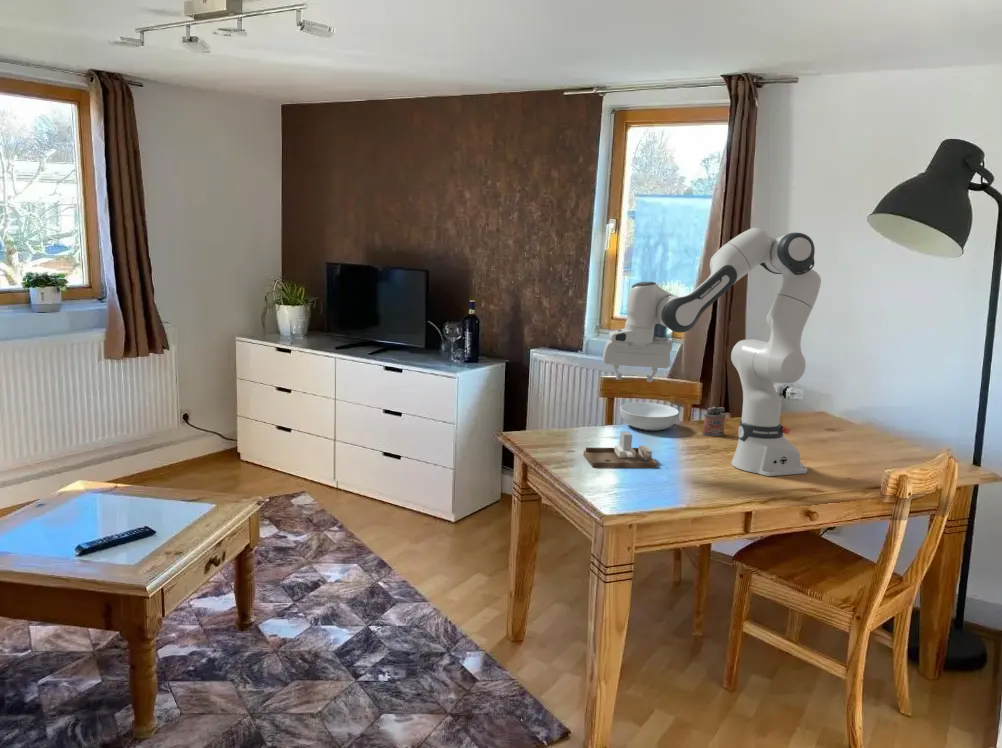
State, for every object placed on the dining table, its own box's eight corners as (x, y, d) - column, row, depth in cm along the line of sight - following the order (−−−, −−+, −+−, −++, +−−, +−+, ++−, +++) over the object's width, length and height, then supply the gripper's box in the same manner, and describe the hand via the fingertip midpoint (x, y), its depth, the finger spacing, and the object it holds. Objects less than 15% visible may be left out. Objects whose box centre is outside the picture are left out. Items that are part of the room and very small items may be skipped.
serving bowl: (608, 421, 296) (609, 403, 294) (657, 418, 303) (659, 401, 302) (637, 437, 277) (638, 417, 275) (688, 433, 284) (690, 414, 283)
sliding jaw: (629, 451, 253) (631, 430, 251) (638, 460, 244) (640, 438, 242) (614, 451, 252) (615, 430, 251) (622, 460, 243) (624, 438, 242)
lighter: (704, 436, 282) (707, 408, 280) (700, 433, 285) (703, 406, 283) (725, 435, 283) (728, 408, 281) (720, 433, 287) (723, 405, 285)
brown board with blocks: (644, 455, 255) (645, 444, 254) (656, 467, 244) (657, 455, 243) (583, 455, 252) (584, 444, 252) (592, 467, 241) (593, 455, 240)
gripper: (670, 336, 245) (665, 380, 248) (604, 331, 245) (599, 376, 247) (675, 339, 239) (670, 385, 241) (606, 334, 238) (602, 380, 241)
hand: (633, 380), depth 244 cm, fingers open, 8 cm apart
